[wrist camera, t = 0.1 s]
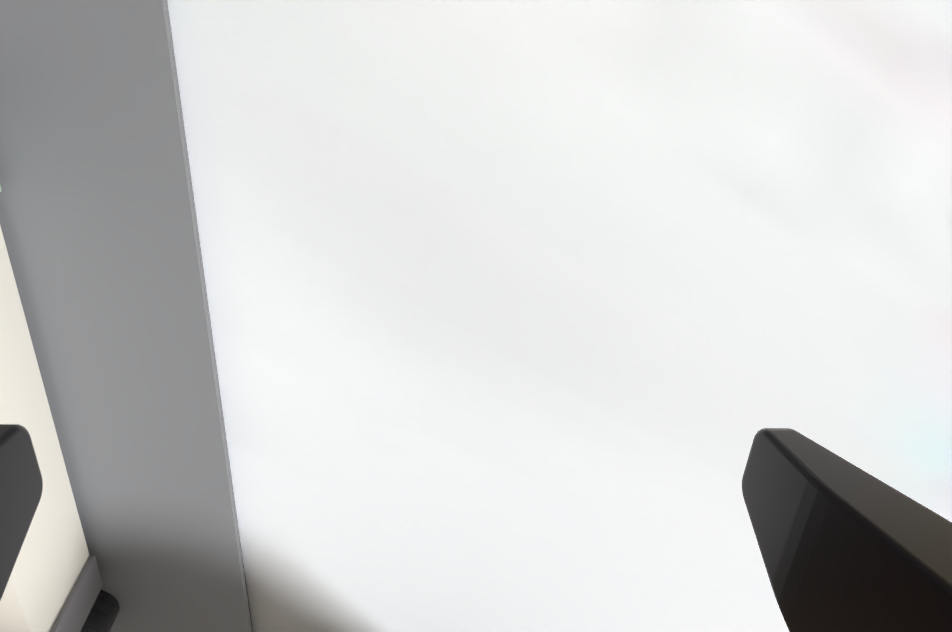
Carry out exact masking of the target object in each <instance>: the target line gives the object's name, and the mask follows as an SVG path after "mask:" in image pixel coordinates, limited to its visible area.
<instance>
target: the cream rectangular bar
mask: <svg viewBox="0 0 952 632" xmlns="http://www.w3.org/2000/svg"><path fill="white" fill-rule="evenodd" d="M1 191H2V189H1V186H0V192H1ZM0 424H18V425H21V426H23V427H25V428H26V429H27V430H28V432H29V434H30V437H31V440H32V443H33V447H34V450H35V454H36V457H37V461H38V464H39V468H40V471H41V475H42V479H43V490H42V495H41V499H40V502H39V504H38V507H37V509H36V512H35V515H34V517H33V520H32V522H31V525H30V527H29V530H28V532H27V535H26V537H25V540H24V543H23V545H22V548H21V550H20V553H19V555H18V558H17V560H16V563H15V565H14V568H13V571H12V573H11V576H10V578H9V581H8V583H7V586H6V588H5V591H4V593H3V596H2V598H1V601H0V632H80V631H81V629H82V627H83V625H84V623H85V621H86V619H87V617H88V615H89V613H90V611H91V609H92V607H93V605H94V603H95V600H96V598H97V596H98V594H99V592H100V590H101V588H102V586H103V583H102V580H101V576H100V572H99V568H98V565H97V561H96V557H95V555H89V551H88V548H87V544H86V540H85V537H84V533H83V529H82V526H81V522H80V518H79V514H78V511H77V507H76V503H75V500H74V496H73V492H72V489H71V485H70V481H69V477H68V474H67V470H66V466H65V463H64V459H63V455H62V452H61V448H60V444H59V440H58V437H57V433H56V429H55V426H54V422H53V418H52V415H51V411H50V407H49V404H48V400H47V396H46V392H45V389H44V385H43V381H42V378H41V374H40V370H39V367H38V363H37V359H36V355H35V352H34V348H33V344H32V341H31V337H30V333H29V330H28V326H27V322H26V318H25V315H24V311H23V307H22V304H21V300H20V296H19V293H18V289H17V285H16V282H15V278H14V274H13V270H12V267H11V263H10V259H9V256H8V252H7V248H6V245H5V241H4V237H3V233H2V230H1V226H0Z"/></svg>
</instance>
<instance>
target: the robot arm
mask: <svg viewBox="0 0 952 632" xmlns="http://www.w3.org/2000/svg"><path fill="white" fill-rule="evenodd" d="M42 490H43V479H42V475H41V471H40V468H39V464H38V461H37V457H36V454H35V450H34V447H33V443H32V440H31V437H30V434H29V432H28V430H27V429H26V428H25V427H23V426H21V425H18V424H0V601H1V598H2V596H3V593H4V591H5V588H6V586H7V583H8V581H9V578H10V576H11V573H12V571H13V568H14V565H15V563H16V560H17V558H18V555H19V553H20V550H21V548H22V545H23V543H24V540H25V537H26V535H27V532H28V530H29V527H30V525H31V522H32V520H33V517H34V515H35V512H36V509H37V507H38V504H39V502H40V499H41V495H42ZM742 492H743V497H744V500H745V504H746V507H747V510H748V513H749V516H750V519H751V522H752V526H753V529H754V532H755V535H756V538H757V541H758V545H759V548H760V551H761V554H762V557H763V560H764V564H765V567H766V570H767V573H768V576H769V579H770V582H771V586H772V588H773V591H774V594H775V597H776V600H777V603H778V605H779V608H780V610H781V612H782V615H783V617H784V620H785V622H786V624H787V627H788V629H789V631H790V632H952V522H950V521H948V520H946V519H945V518H943V517H941V516H940V515H938V514H936V513H935V512H933V511H931V510H929V509H928V508H926V507H924V506H923V505H921V504H919V503H917V502H916V501H914V500H912V499H911V498H909V497H907V496H906V495H904V494H902V493H900V492H899V491H897V490H895V489H894V488H892V487H890V486H889V485H887V484H885V483H883V482H882V481H880V480H878V479H877V478H875V477H873V476H872V475H870V474H868V473H866V472H865V471H863V470H861V469H860V468H858V467H856V466H855V465H853V464H851V463H849V462H848V461H846V460H844V459H843V458H841V457H839V456H838V455H836V454H834V453H832V452H831V451H829V450H827V449H826V448H824V447H822V446H821V445H819V444H817V443H815V442H814V441H812V440H810V439H809V438H807V437H805V436H804V435H802V434H800V433H798V432H797V431H795V430H793V429H788V428H764V429H761V430H760V431H758V432H757V434H756V435H755V437H754V440H753V444H752V447H751V450H750V454H749V457H748V461H747V464H746V468H745V471H744V474H743V479H742Z"/></svg>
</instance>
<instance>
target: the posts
mask: <svg viewBox="0 0 952 632" xmlns="http://www.w3.org/2000/svg"><path fill="white" fill-rule="evenodd" d="M119 610H120V606H119V603H118V601H117V600H116V598H115V597H114V596H112V595H111V594H110V593H108V592H106V591H103V590H100V592H99V594H98V596H97V598H96V600H95V603H94V605H93V607H92V609H91V611H90V613H89V615H88V617H87V619H86V621H85V623H84V625H83V627H82V629H81V631H80V632H110V631H111V629H112V626H113V624H114V622H115V620H116V617H117V615H118V613H119Z"/></svg>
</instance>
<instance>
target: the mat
mask: <svg viewBox="0 0 952 632" xmlns="http://www.w3.org/2000/svg"><path fill="white" fill-rule="evenodd" d="M0 186H1V189H2V191H1V192H0V226H1V230H2V233H3V237H4V241H5V245H6V248H7V252H8V256H9V259H10V263H11V267H12V270H13V274H14V278H15V282H16V285H17V289H18V293H19V296H20V300H21V304H22V307H23V311H24V315H25V318H26V322H27V326H28V330H29V333H30V337H31V341H32V344H33V348H34V352H35V355H36V359H37V363H38V367H39V370H40V374H41V378H42V381H43V385H44V389H45V392H46V396H47V400H48V404H49V407H50V411H51V415H52V418H53V422H54V426H55V429H56V433H57V437H58V440H59V444H60V448H61V452H62V455H63V459H64V463H65V466H66V470H67V474H68V477H69V481H70V485H71V489H72V492H73V496H74V500H75V503H76V507H77V511H78V514H79V518H80V522H81V526H82V529H83V533H84V537H85V540H86V544H87V548H88V551H89V555H95V557H96V561H97V565H98V568H99V572H100V576H101V580H102V583H103V586H102V588H101V590H103V591H106V592H108V593H110V594H111V595H112V596H114V597H115V598H116V600H117V601H118V603H119V606H120V610H119V613H118V615H117V617H116V620H115V622H114V624H113V626H112V629H111V631H110V632H252V627H251V619H250V612H249V604H248V597H247V590H246V582H245V575H244V567H243V560H242V553H241V545H240V538H239V530H238V523H237V516H236V508H235V501H234V493H233V486H232V479H231V471H230V464H229V456H228V449H227V441H226V434H225V427H224V419H223V412H222V404H221V397H220V390H219V382H218V375H217V367H216V360H215V353H214V345H213V338H212V330H211V323H210V316H209V308H208V301H207V293H206V286H205V279H204V271H203V264H202V256H201V249H200V242H199V234H198V227H197V219H196V212H195V205H194V197H193V190H192V182H191V175H190V168H189V160H188V153H187V145H186V138H185V131H184V123H183V116H182V108H181V101H180V93H179V86H178V79H177V71H176V64H175V56H174V49H173V42H172V34H171V27H170V19H169V12H168V5H167V0H0Z"/></svg>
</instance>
